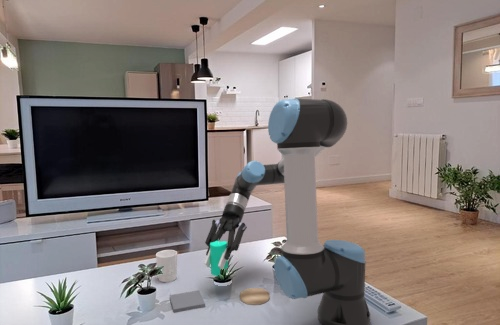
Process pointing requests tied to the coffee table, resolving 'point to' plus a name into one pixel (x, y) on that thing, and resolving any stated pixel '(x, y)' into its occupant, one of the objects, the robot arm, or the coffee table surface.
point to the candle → (217, 256)
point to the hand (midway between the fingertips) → (213, 266)
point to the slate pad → (187, 301)
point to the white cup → (167, 265)
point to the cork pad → (254, 296)
